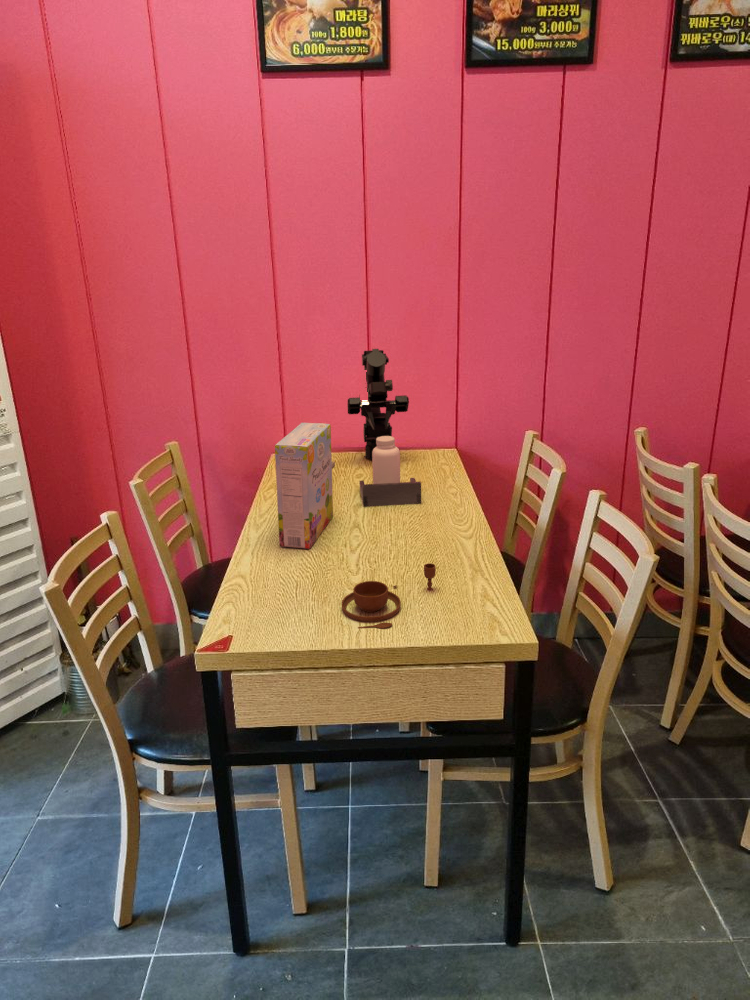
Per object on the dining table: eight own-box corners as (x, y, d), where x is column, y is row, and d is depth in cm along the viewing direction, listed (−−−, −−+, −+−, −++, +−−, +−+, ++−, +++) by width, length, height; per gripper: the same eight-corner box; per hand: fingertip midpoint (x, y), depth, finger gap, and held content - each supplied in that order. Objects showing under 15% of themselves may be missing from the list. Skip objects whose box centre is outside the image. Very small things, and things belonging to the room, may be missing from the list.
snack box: (313, 550, 177) (307, 446, 168) (278, 548, 178) (270, 445, 169) (336, 516, 197) (331, 421, 188) (304, 515, 198) (298, 421, 189)
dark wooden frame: (359, 490, 215) (359, 470, 213) (414, 487, 216) (414, 467, 214) (363, 506, 203) (362, 486, 201) (421, 503, 204) (421, 482, 202)
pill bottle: (369, 491, 214) (368, 441, 209) (377, 482, 221) (376, 433, 216) (396, 493, 212) (395, 442, 207) (403, 484, 219) (402, 435, 214)
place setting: (341, 590, 158) (340, 565, 156) (435, 586, 159) (435, 561, 157) (342, 633, 142) (340, 606, 140) (446, 628, 143) (446, 601, 141)
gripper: (346, 371, 225) (349, 416, 218) (407, 369, 226) (413, 413, 220) (346, 391, 235) (349, 435, 229) (404, 389, 236) (409, 432, 230)
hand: (380, 428), depth 226 cm, fingers open, 3 cm apart
